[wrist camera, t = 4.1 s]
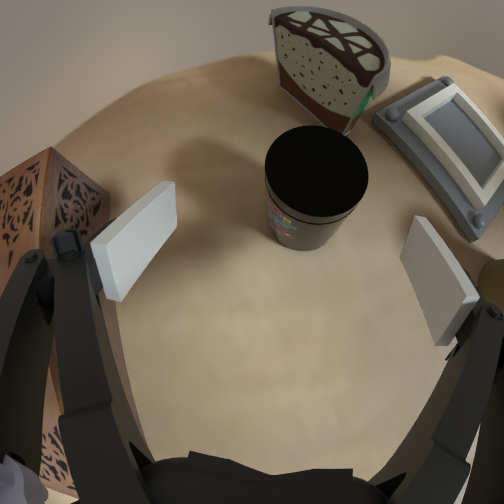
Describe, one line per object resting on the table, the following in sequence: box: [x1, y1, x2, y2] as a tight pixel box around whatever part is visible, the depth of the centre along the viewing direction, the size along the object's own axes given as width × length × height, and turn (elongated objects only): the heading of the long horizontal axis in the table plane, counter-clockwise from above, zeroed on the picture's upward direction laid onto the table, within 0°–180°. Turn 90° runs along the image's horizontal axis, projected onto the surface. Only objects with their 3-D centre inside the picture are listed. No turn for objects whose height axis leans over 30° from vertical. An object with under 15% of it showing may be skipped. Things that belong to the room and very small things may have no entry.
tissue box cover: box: [0, 147, 148, 499], centre depth 18 cm, size 26×14×10 cm, turn 11°
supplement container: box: [265, 126, 368, 251], centre depth 19 cm, size 6×6×9 cm
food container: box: [268, 6, 391, 137], centre depth 21 cm, size 12×6×10 cm, turn 36°
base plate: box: [372, 76, 504, 243], centre depth 23 cm, size 16×16×3 cm
